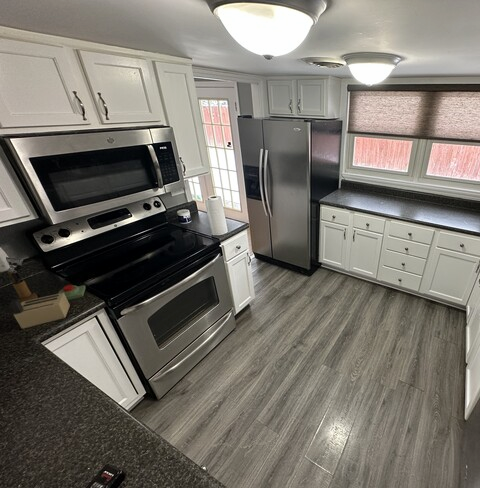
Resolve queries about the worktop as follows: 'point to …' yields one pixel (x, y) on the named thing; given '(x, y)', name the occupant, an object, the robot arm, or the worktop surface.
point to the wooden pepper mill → (22, 290)
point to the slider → (16, 306)
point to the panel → (74, 292)
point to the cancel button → (68, 288)
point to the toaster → (42, 310)
